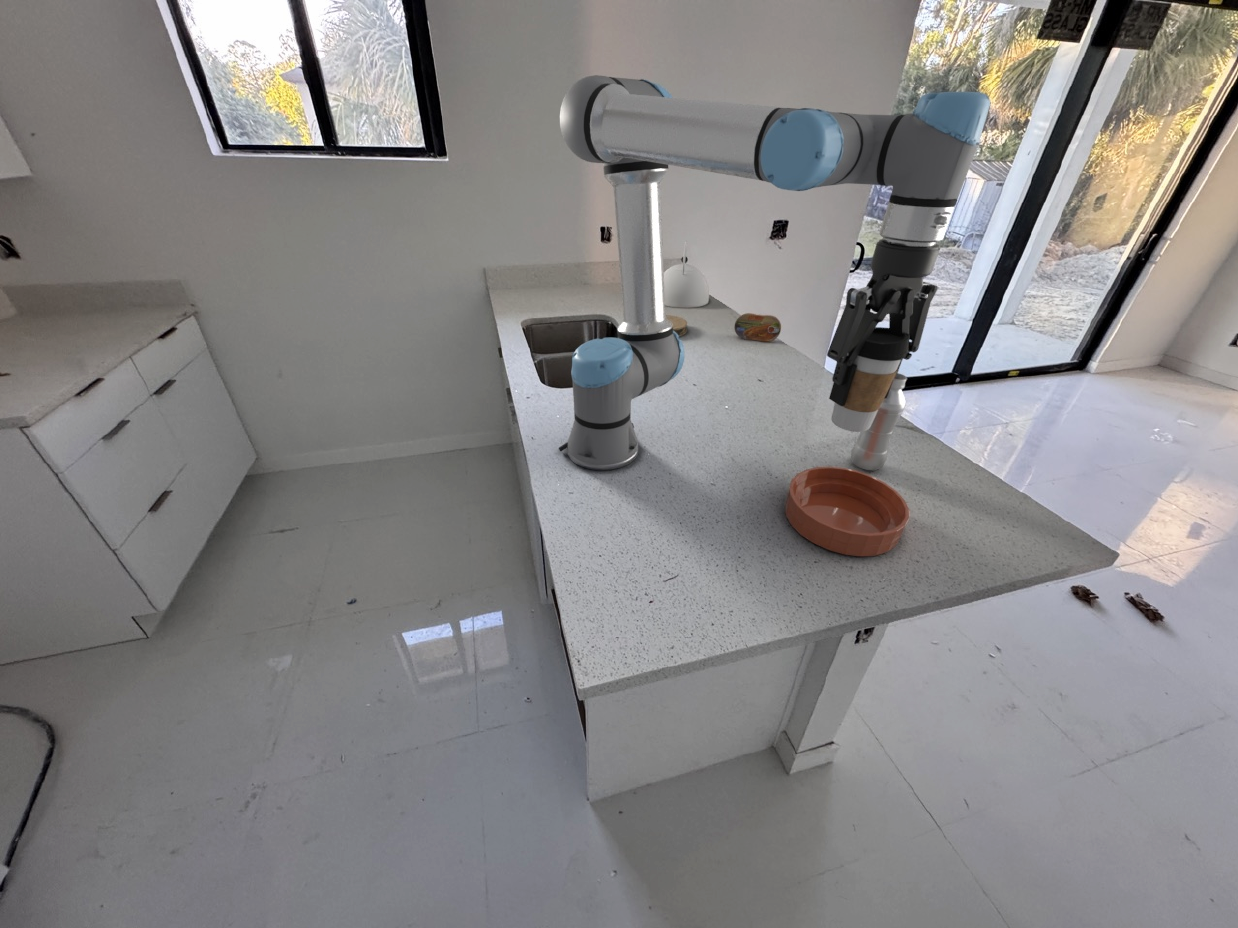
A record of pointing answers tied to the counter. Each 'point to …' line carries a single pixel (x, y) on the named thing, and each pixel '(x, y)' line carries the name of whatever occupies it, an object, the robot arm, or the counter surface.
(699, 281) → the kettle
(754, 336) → the tin
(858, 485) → the bowl
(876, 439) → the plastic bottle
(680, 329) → the round brown disc
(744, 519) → the counter surface
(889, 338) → the coffee cup
